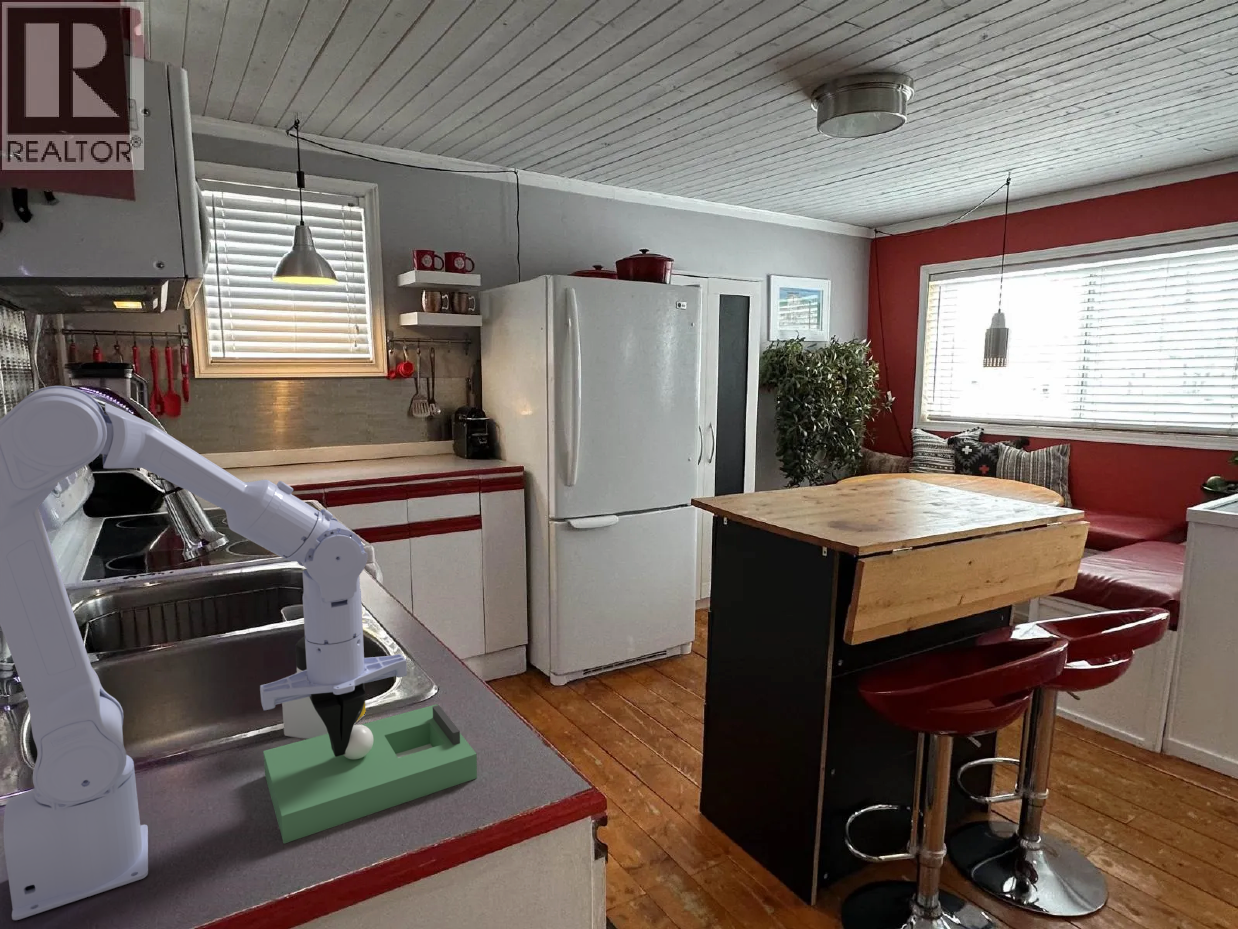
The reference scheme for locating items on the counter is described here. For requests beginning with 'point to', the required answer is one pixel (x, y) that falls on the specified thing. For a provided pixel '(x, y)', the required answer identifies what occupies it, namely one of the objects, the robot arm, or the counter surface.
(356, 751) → the ball
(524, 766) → the counter surface
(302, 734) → the medicine bottle
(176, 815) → the counter surface
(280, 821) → the green pocketed block
